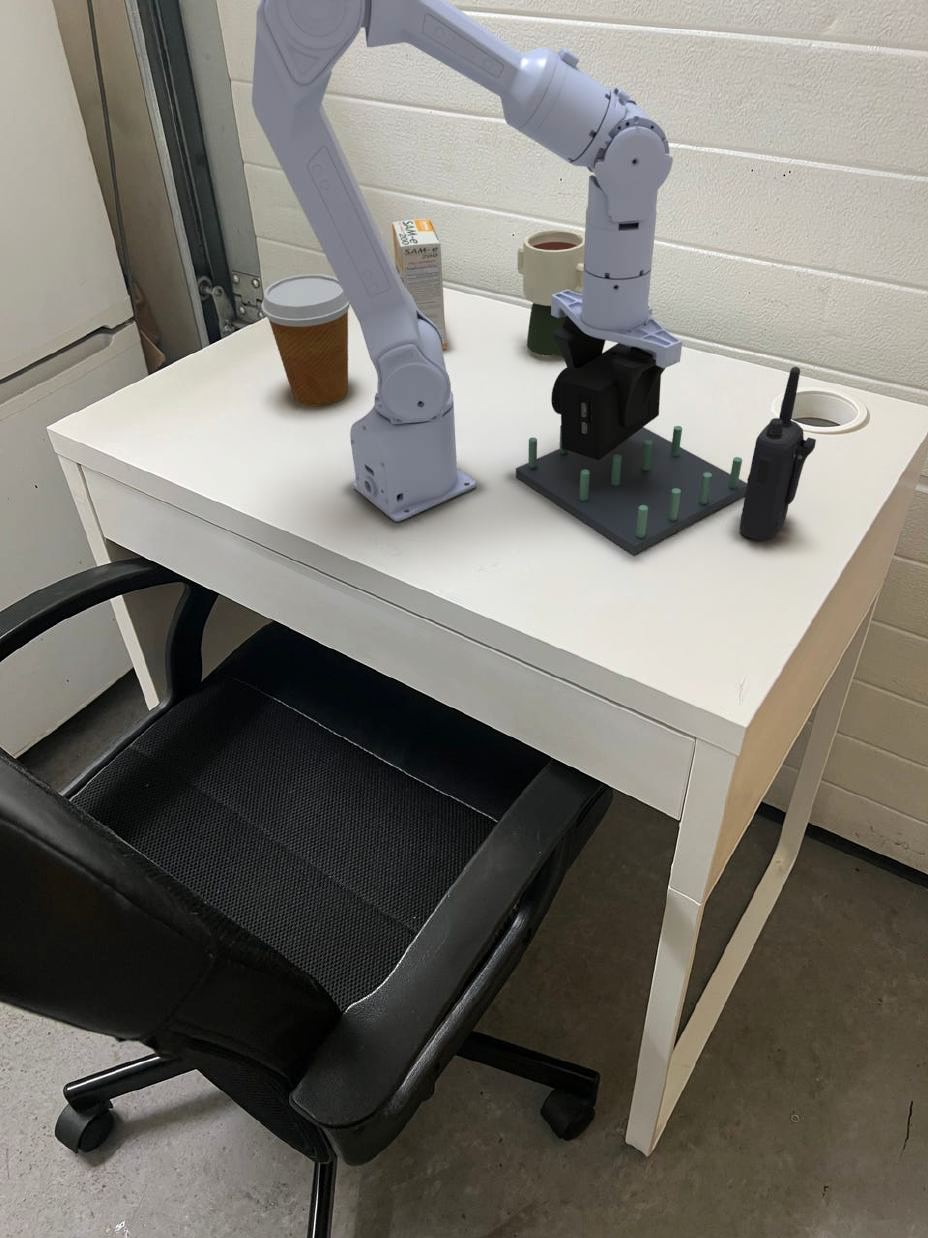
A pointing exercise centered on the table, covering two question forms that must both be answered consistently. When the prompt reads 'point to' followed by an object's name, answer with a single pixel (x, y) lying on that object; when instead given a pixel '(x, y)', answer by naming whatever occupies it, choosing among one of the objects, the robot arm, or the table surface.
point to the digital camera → (596, 406)
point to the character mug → (549, 280)
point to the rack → (634, 487)
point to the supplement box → (421, 267)
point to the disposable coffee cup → (311, 335)
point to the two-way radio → (775, 469)
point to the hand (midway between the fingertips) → (607, 410)
